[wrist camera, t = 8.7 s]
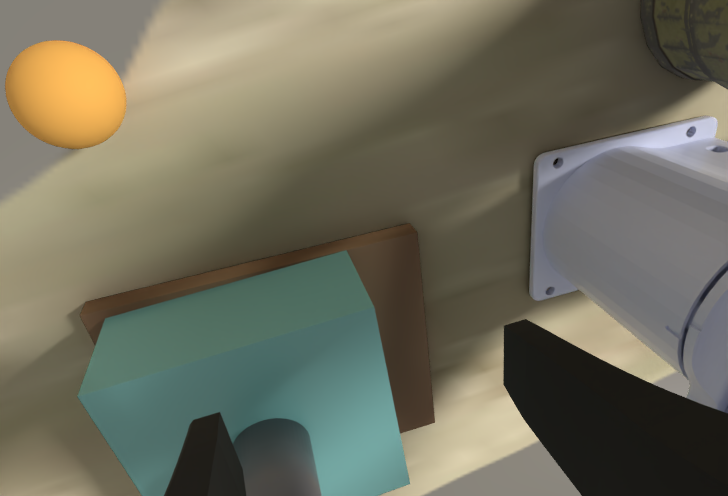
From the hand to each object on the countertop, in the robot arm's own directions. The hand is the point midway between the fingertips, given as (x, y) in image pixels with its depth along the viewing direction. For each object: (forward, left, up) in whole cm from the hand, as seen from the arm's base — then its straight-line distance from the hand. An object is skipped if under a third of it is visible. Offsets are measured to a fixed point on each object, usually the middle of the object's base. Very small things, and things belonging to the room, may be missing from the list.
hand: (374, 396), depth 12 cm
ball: (+7, -7, -10) cm, 14 cm away
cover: (+4, +6, -9) cm, 12 cm away
